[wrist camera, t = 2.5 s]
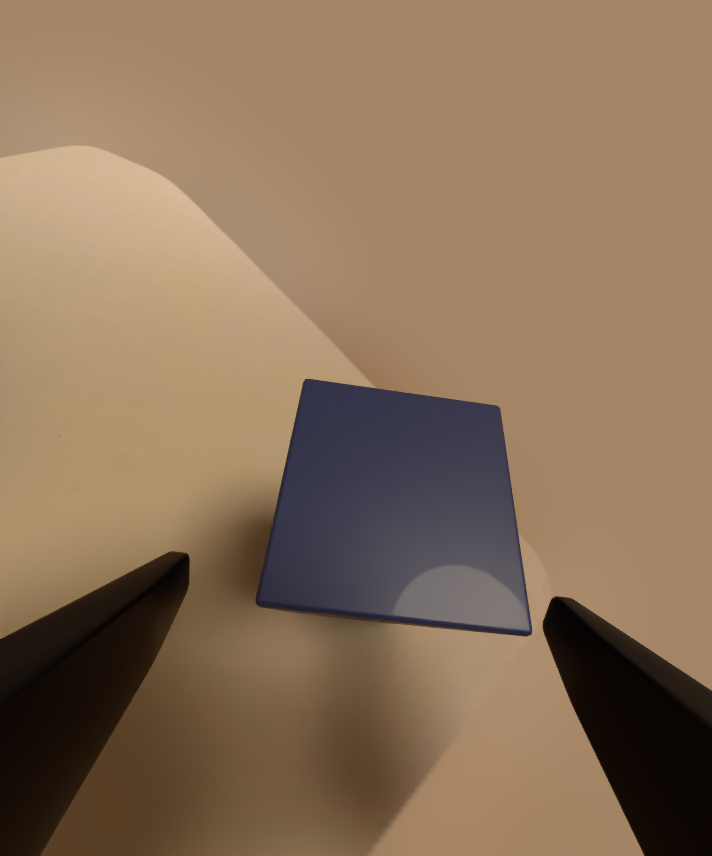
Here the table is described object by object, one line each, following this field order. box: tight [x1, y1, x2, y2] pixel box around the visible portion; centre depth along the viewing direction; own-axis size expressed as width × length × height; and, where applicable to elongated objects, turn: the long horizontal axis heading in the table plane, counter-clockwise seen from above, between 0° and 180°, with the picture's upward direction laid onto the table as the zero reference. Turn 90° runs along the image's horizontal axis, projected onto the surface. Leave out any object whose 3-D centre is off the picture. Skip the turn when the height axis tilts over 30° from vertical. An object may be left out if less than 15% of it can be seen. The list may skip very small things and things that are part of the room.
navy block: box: [256, 379, 532, 636], centre depth 12 cm, size 5×5×12 cm
